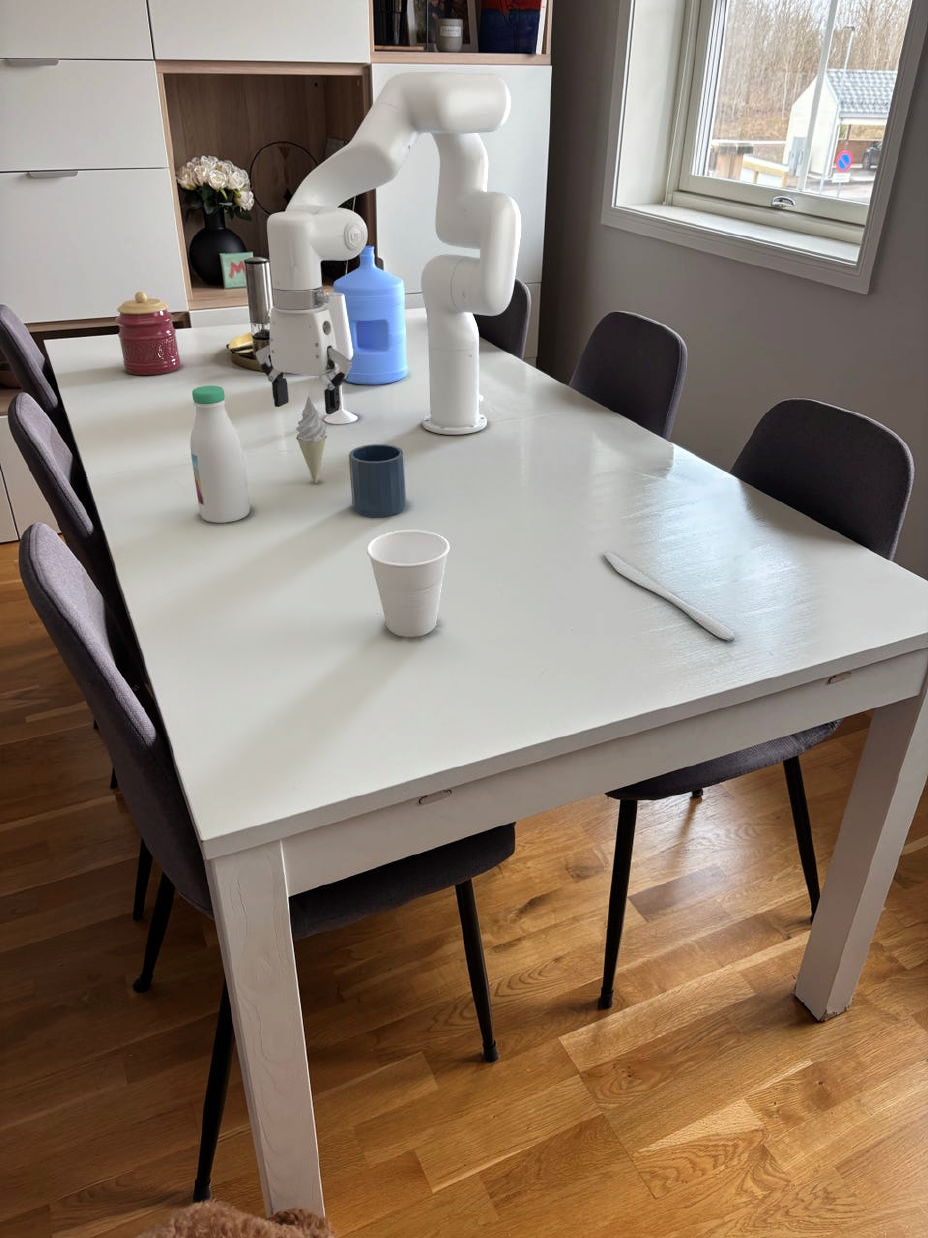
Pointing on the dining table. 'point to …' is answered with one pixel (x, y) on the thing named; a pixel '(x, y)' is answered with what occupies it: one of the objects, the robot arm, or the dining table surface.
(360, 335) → the water jug
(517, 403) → the dining table surface
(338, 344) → the champagne flute
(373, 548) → the cup
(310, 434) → the ice cream cone
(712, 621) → the butter knife
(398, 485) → the tumbler
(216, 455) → the milk bottle
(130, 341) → the kitchen canister
